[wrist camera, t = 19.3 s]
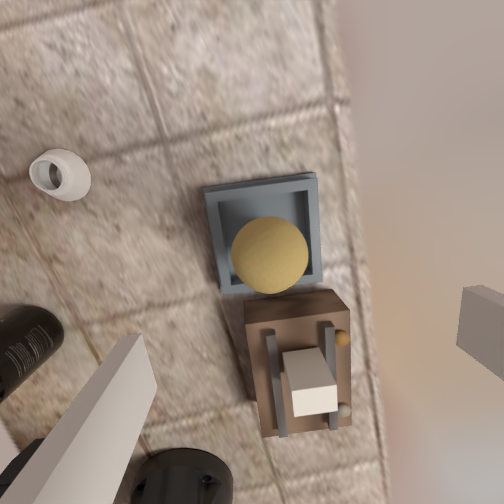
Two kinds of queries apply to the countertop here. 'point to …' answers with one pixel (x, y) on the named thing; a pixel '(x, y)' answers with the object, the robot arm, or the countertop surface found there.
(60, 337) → the supplement bottle
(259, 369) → the switch box
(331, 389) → the toggle
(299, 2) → the countertop surface
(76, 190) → the white conical ring
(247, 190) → the tray
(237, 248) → the light bulb
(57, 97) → the countertop surface
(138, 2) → the countertop surface
